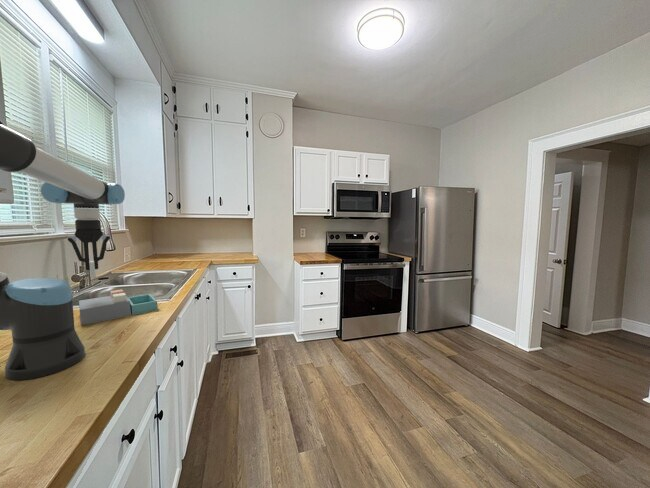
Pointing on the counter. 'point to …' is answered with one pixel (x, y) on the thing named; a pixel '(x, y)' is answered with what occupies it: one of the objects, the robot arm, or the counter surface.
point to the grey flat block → (102, 309)
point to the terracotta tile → (116, 292)
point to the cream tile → (119, 297)
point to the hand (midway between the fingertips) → (92, 277)
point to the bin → (142, 304)
